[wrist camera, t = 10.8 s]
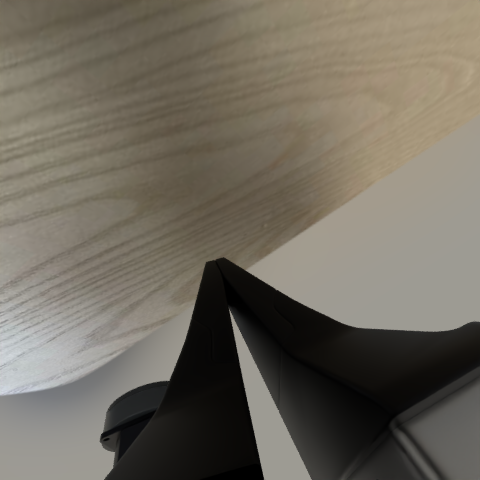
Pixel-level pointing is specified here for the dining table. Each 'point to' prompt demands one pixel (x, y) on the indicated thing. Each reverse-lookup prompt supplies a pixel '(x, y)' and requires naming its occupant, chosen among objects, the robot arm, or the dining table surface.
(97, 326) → the dining table surface
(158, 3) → the dining table surface
